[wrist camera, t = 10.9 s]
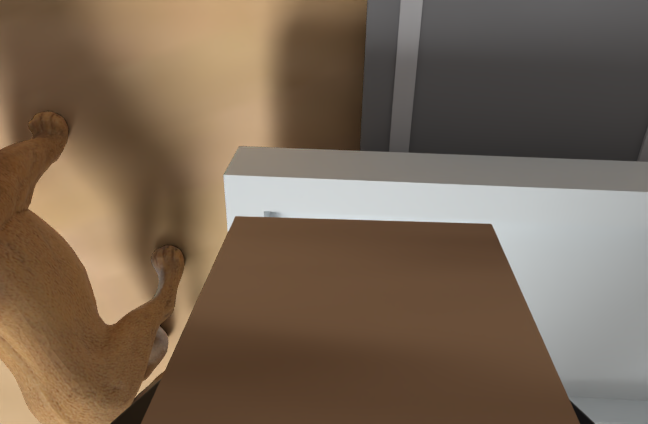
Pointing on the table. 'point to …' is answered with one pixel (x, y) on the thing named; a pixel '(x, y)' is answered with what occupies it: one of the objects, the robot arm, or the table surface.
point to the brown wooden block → (360, 330)
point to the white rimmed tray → (501, 241)
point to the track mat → (507, 78)
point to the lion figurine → (68, 303)
